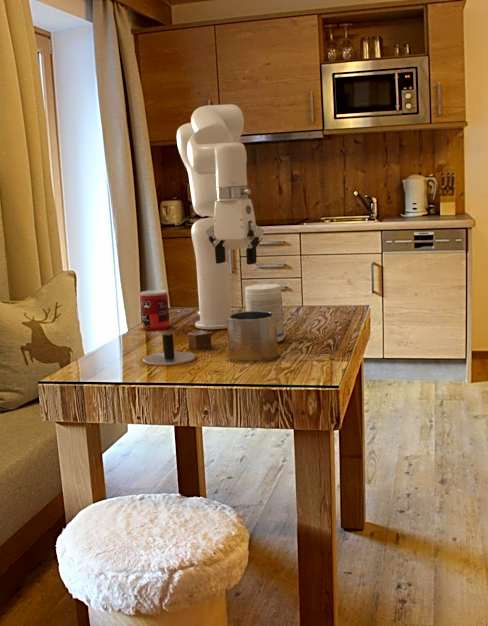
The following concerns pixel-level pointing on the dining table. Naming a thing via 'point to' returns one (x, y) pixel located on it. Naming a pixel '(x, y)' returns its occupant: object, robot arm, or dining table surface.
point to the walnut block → (199, 340)
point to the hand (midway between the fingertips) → (236, 263)
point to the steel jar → (252, 336)
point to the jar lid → (168, 354)
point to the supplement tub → (266, 303)
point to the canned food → (155, 309)
